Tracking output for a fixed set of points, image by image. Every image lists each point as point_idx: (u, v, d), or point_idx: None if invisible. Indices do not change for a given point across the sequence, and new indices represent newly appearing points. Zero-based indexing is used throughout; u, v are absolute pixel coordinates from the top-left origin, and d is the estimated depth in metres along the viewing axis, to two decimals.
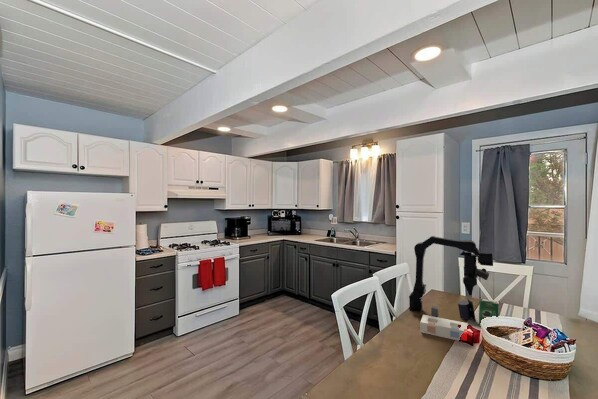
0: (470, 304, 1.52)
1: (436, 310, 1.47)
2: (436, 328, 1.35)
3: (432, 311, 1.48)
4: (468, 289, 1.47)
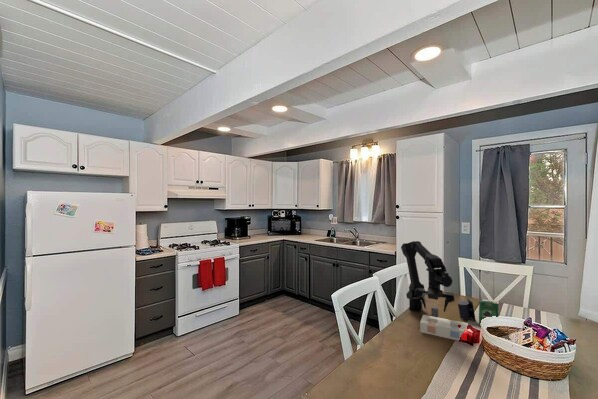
0: (470, 304, 1.52)
1: (436, 310, 1.47)
2: (436, 328, 1.35)
3: (432, 311, 1.48)
4: (423, 301, 1.52)
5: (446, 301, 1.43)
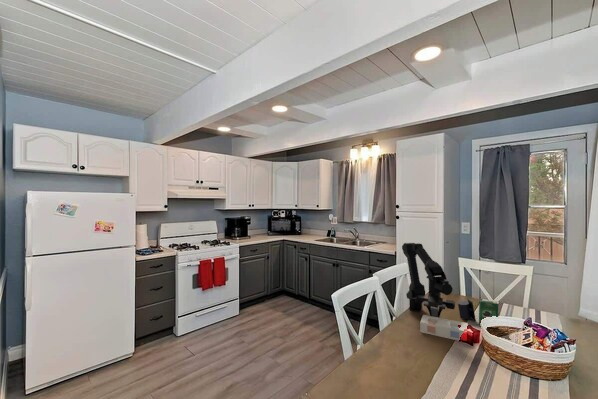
0: (470, 304, 1.52)
1: (436, 310, 1.47)
2: (436, 328, 1.35)
3: (432, 311, 1.48)
4: None
5: (440, 308, 1.45)
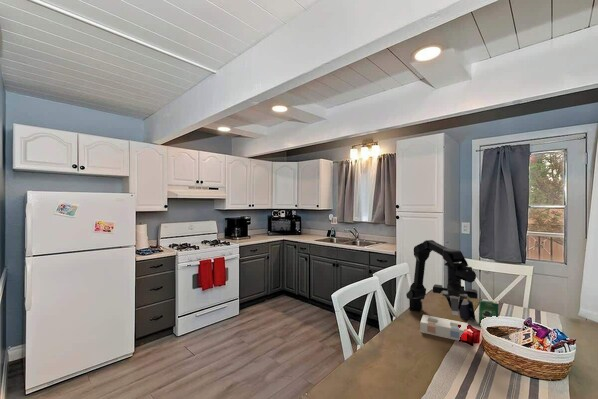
0: (470, 304, 1.52)
1: (456, 300, 1.33)
2: (436, 328, 1.35)
3: (452, 301, 1.34)
4: None
5: (461, 297, 1.31)
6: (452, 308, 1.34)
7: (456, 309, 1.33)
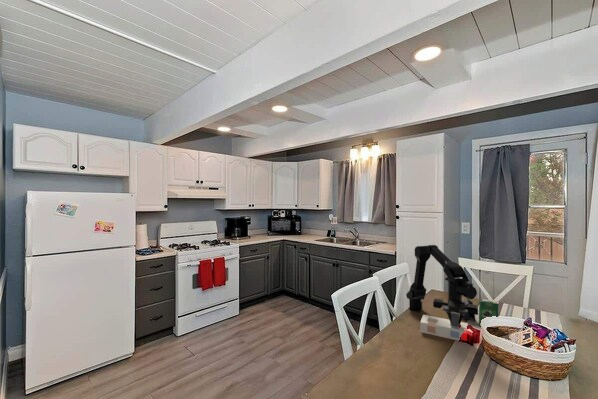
0: None
1: (457, 315, 1.33)
2: (436, 328, 1.35)
3: (452, 316, 1.34)
4: None
5: (461, 313, 1.31)
6: (452, 323, 1.34)
7: (456, 324, 1.33)
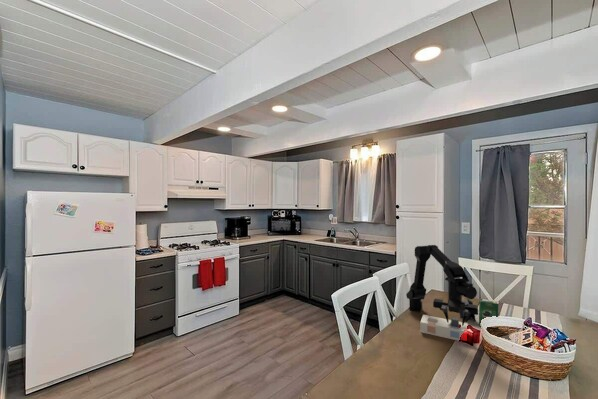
0: None
1: (457, 322, 1.33)
2: (436, 328, 1.35)
3: (452, 323, 1.34)
4: None
5: (465, 314, 1.30)
6: None
7: None
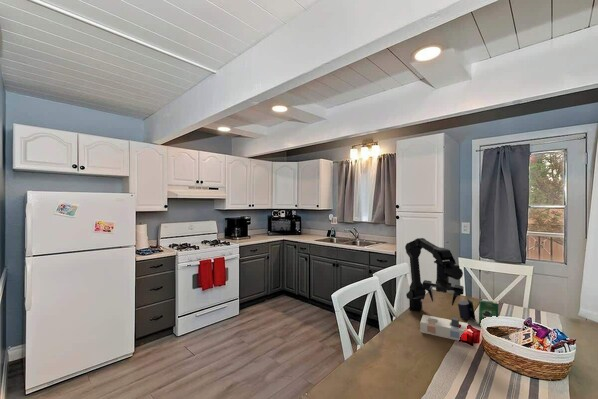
0: (470, 304, 1.52)
1: (457, 322, 1.33)
2: (436, 328, 1.35)
3: (452, 323, 1.34)
4: None
5: (455, 294, 1.39)
6: None
7: None
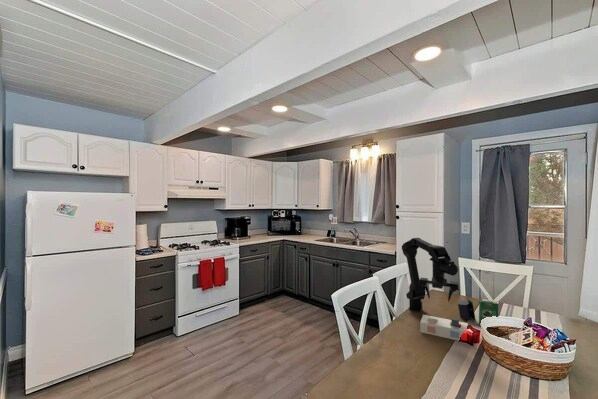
0: (470, 304, 1.52)
1: (457, 322, 1.33)
2: (436, 328, 1.35)
3: (452, 323, 1.34)
4: (427, 291, 1.51)
5: (450, 290, 1.42)
6: None
7: None
